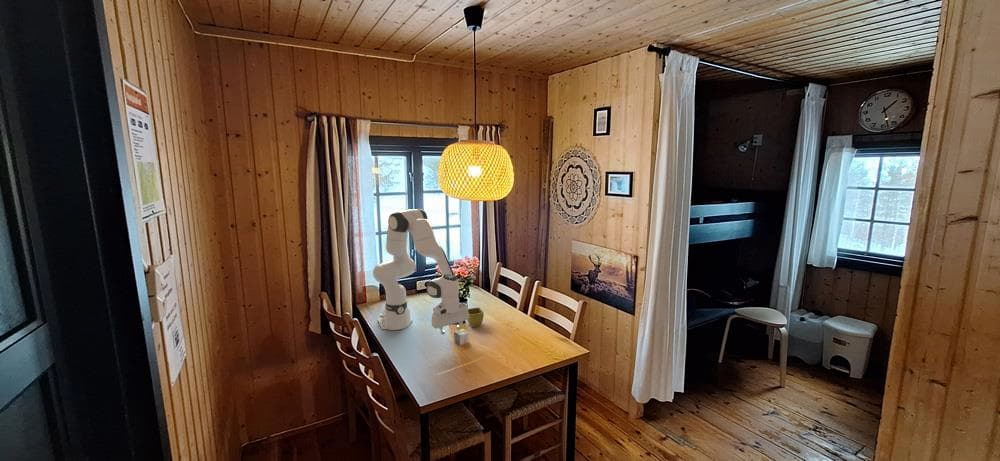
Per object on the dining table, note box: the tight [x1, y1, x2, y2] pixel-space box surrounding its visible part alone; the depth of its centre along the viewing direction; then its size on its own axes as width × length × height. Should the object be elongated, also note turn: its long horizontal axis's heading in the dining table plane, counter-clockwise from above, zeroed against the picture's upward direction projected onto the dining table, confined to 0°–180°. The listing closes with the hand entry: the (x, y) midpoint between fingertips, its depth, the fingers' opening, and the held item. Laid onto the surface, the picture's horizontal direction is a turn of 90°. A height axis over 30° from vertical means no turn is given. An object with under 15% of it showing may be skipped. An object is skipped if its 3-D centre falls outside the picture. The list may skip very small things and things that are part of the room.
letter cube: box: [453, 328, 470, 346], centre depth 207 cm, size 6×6×6 cm
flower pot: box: [466, 306, 485, 328], centre depth 228 cm, size 9×9×9 cm
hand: (450, 331), depth 203 cm, fingers open, 8 cm apart
